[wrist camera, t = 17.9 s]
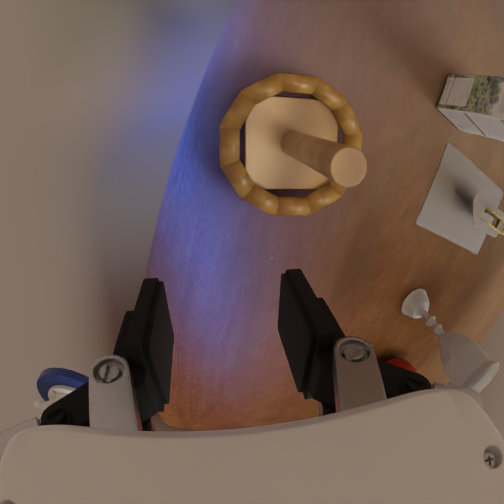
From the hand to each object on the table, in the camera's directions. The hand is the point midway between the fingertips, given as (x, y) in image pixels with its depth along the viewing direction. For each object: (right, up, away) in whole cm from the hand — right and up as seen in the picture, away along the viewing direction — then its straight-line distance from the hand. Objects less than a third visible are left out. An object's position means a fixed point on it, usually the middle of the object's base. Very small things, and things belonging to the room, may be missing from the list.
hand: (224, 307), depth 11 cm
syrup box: (+27, +21, +15) cm, 37 cm away
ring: (+5, +12, +14) cm, 19 cm away
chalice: (+26, -6, +28) cm, 39 cm away
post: (+5, +13, +15) cm, 21 cm away
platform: (+32, +9, +22) cm, 40 cm away
